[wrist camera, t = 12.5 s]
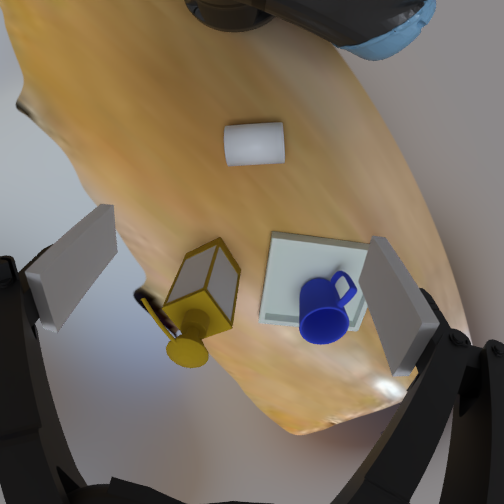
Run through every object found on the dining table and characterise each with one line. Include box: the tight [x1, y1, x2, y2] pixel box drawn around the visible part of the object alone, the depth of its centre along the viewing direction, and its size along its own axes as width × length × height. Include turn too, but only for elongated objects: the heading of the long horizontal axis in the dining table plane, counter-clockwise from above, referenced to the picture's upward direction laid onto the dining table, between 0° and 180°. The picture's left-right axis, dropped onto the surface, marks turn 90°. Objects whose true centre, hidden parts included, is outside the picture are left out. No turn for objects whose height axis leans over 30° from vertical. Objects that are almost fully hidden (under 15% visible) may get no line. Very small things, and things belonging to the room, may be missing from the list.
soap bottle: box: [141, 237, 241, 368], centre depth 45 cm, size 7×13×24 cm, turn 28°
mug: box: [299, 271, 357, 344], centre depth 53 cm, size 8×12×10 cm
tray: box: [259, 231, 370, 331], centre depth 56 cm, size 18×20×3 cm
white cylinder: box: [224, 122, 285, 166], centre depth 43 cm, size 6×6×8 cm
